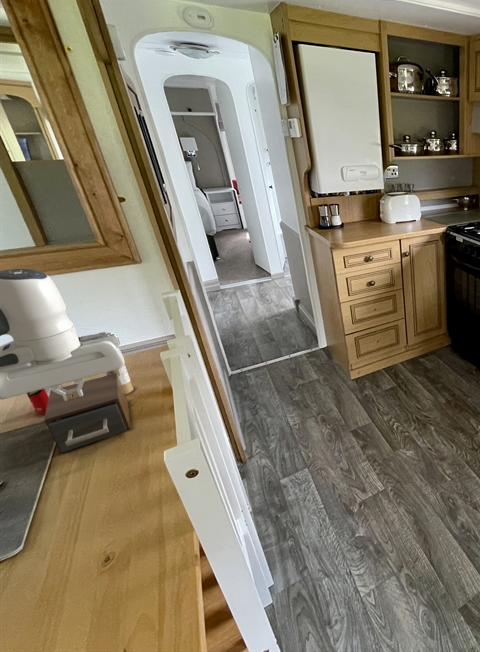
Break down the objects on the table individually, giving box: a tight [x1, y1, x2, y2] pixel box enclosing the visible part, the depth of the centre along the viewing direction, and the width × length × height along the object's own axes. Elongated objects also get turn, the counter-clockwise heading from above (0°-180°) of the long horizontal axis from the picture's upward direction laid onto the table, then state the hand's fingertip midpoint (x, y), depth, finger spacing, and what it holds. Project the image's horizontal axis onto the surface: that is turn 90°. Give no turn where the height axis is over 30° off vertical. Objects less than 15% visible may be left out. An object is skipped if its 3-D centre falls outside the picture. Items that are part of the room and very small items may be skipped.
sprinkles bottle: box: [105, 364, 134, 395], centre depth 109 cm, size 5×5×14 cm
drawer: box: [49, 402, 127, 453], centre depth 93 cm, size 19×12×8 cm, turn 42°
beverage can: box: [26, 385, 63, 415], centre depth 102 cm, size 6×6×12 cm
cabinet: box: [43, 373, 131, 454], centre depth 97 cm, size 15×13×10 cm
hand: (74, 397), depth 85 cm, fingers closed
